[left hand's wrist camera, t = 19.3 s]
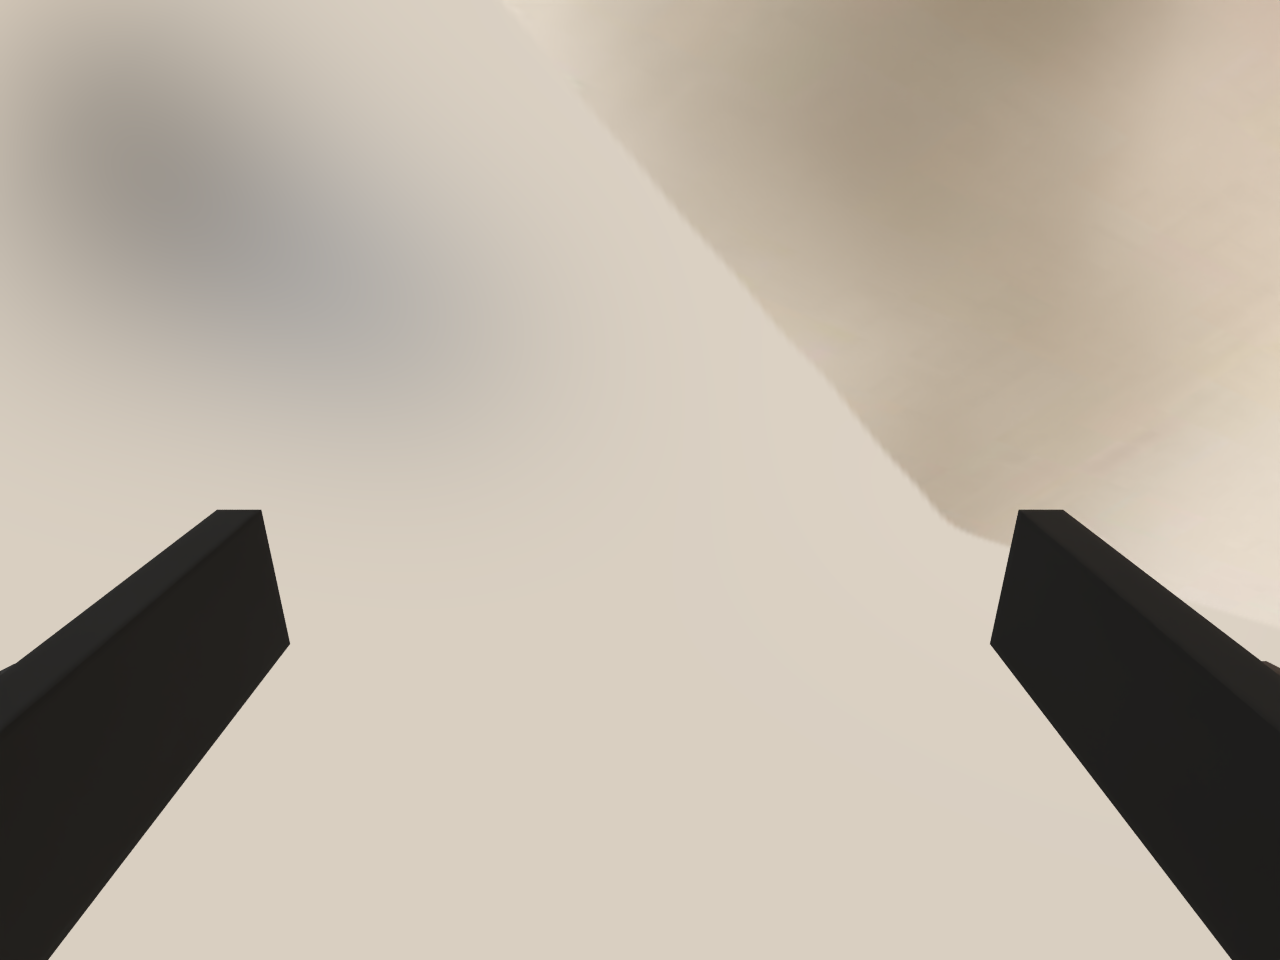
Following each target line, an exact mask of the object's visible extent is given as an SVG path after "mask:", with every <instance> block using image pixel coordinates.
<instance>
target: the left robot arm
mask: <svg viewBox="0 0 1280 960" xmlns="http://www.w3.org/2000/svg"><path fill="white" fill-rule="evenodd" d="M289 645H290V642H289V637H288V632H287V628H286V623H285V618H284V614H283V609H282V604H281V600H280V595H279V590H278V586H277V581H276V576H275V572H274V567H273V562H272V558H271V553H270V548H269V544H268V539H267V534H266V530H265V525H264V520H263V516H262V511H261V510H216V511H215V512H214V513H212V514H211V515H210V516H208V517H207V518H206V519H204V520H203V521H202V522H201V523H199V524H198V525H197V526H195V527H194V528H193V529H191V530H190V531H189V532H187V533H186V534H185V535H183V536H182V537H181V538H179V539H178V540H177V541H176V542H174V543H173V544H172V545H170V546H169V547H168V548H166V549H165V550H164V551H162V552H161V553H160V554H159V555H157V556H156V557H155V558H153V559H152V560H151V561H149V562H148V563H147V564H145V565H144V566H143V567H142V568H140V569H139V570H138V571H136V572H135V573H134V574H132V575H131V576H130V577H128V578H127V579H126V580H125V581H123V582H122V583H121V584H119V585H118V586H117V587H115V588H114V589H113V590H111V591H110V592H109V593H108V594H106V595H105V596H104V597H102V598H101V599H100V600H98V601H97V602H96V603H94V604H93V605H92V606H90V607H89V608H88V609H86V610H85V611H84V612H83V613H81V614H80V615H79V616H77V617H76V618H75V619H73V620H72V621H71V622H69V623H68V624H67V625H66V626H64V627H63V628H62V629H60V630H59V631H58V632H56V633H55V634H54V635H52V636H51V637H50V638H49V639H47V640H46V641H45V642H43V643H42V644H41V645H39V646H38V647H37V648H35V649H34V650H33V651H32V652H30V653H29V654H28V655H26V656H25V657H24V658H22V659H21V660H20V661H18V662H17V663H16V664H13V665H11V666H9V667H7V668H5V669H3V670H1V671H0V960H48V959H49V958H50V957H51V955H52V954H53V953H54V951H55V950H56V949H57V947H58V946H59V945H60V943H61V942H62V941H63V940H64V938H65V937H66V936H67V934H68V933H69V932H70V930H71V929H72V928H73V927H74V925H75V924H76V923H77V921H78V920H79V919H80V917H81V916H82V915H83V914H84V912H85V911H86V910H87V908H88V907H89V906H90V904H91V903H92V902H93V900H94V899H95V898H96V897H97V895H98V894H99V893H100V891H101V890H102V889H103V887H104V886H105V885H106V883H107V882H108V881H109V879H110V878H111V877H112V876H113V874H114V873H115V872H116V870H117V869H118V868H119V867H120V865H121V864H122V863H123V861H124V860H125V859H126V857H127V856H128V855H129V853H130V852H131V851H132V849H133V848H134V847H135V846H136V844H137V843H138V842H139V840H140V839H141V838H142V836H143V835H144V834H145V833H146V831H147V830H148V829H149V827H150V826H151V825H152V823H153V822H154V821H155V820H156V818H157V817H158V816H159V814H160V813H161V812H162V810H163V809H164V808H165V806H166V805H167V804H168V802H169V801H170V800H171V799H172V797H173V796H174V795H175V793H176V792H177V791H178V789H179V788H180V787H181V786H182V784H183V783H184V782H185V780H186V779H187V778H188V776H189V775H190V774H191V773H192V771H193V770H194V769H195V767H196V766H197V765H198V763H199V762H200V761H201V759H202V758H203V757H204V756H205V754H206V753H207V752H208V750H209V749H210V748H211V746H212V745H213V744H214V742H215V741H216V740H217V739H218V737H219V736H220V735H221V733H222V732H223V731H224V729H225V728H226V727H227V725H228V724H229V723H230V722H231V720H232V719H233V718H234V716H235V715H236V714H237V712H238V711H239V710H240V709H241V707H242V706H243V705H244V703H245V702H246V701H247V699H248V698H249V697H250V695H251V694H252V693H253V692H254V690H255V689H256V688H257V686H258V685H259V684H260V682H261V681H262V680H263V678H264V677H265V676H266V675H267V673H268V672H269V671H270V669H271V668H272V667H273V665H274V664H275V663H276V662H277V660H278V659H279V658H280V656H281V655H282V654H283V652H284V651H285V650H286V648H287V647H288V646H289ZM990 645H991V646H992V647H993V648H994V650H995V651H996V652H997V654H998V655H999V656H1000V658H1001V659H1002V660H1003V662H1004V663H1005V664H1006V665H1007V667H1008V668H1009V669H1010V671H1011V672H1012V673H1013V675H1014V676H1015V677H1016V678H1017V680H1018V681H1019V682H1020V684H1021V685H1022V686H1023V688H1024V689H1025V690H1026V692H1027V693H1028V694H1029V695H1030V697H1031V698H1032V699H1033V701H1034V702H1035V703H1036V705H1037V706H1038V707H1039V708H1040V710H1041V711H1042V712H1043V714H1044V715H1045V716H1046V718H1047V719H1048V720H1049V722H1050V723H1051V724H1052V725H1053V727H1054V728H1055V729H1056V731H1057V732H1058V733H1059V735H1060V736H1061V737H1062V739H1063V740H1064V741H1065V742H1066V744H1067V745H1068V746H1069V748H1070V749H1071V750H1072V752H1073V753H1074V754H1075V755H1076V757H1077V758H1078V759H1079V761H1080V762H1081V763H1082V765H1083V766H1084V767H1085V769H1086V770H1087V771H1088V772H1089V774H1090V775H1091V776H1092V778H1093V779H1094V780H1095V782H1096V783H1097V784H1098V785H1099V787H1100V788H1101V789H1102V791H1103V792H1104V793H1105V795H1106V796H1107V797H1108V798H1109V800H1110V801H1111V803H1112V804H1113V805H1114V806H1115V808H1116V809H1117V810H1118V812H1119V813H1120V814H1121V816H1122V817H1123V818H1124V819H1125V821H1126V822H1127V823H1128V825H1129V826H1130V827H1131V829H1132V830H1133V831H1134V833H1135V834H1136V835H1137V836H1138V838H1139V839H1140V840H1141V842H1142V843H1143V844H1144V846H1145V847H1146V848H1147V850H1148V851H1149V852H1150V853H1151V855H1152V856H1153V857H1154V859H1155V860H1156V861H1157V863H1158V864H1159V865H1160V867H1161V868H1162V869H1163V870H1164V872H1165V873H1166V874H1167V876H1168V877H1169V878H1170V880H1171V881H1172V882H1173V883H1174V885H1175V886H1176V887H1177V889H1178V890H1179V891H1180V893H1181V894H1182V895H1183V896H1184V898H1185V899H1186V900H1187V902H1188V903H1189V904H1190V906H1191V907H1192V908H1193V910H1194V911H1195V912H1196V913H1197V915H1198V916H1199V917H1200V919H1201V920H1202V921H1203V923H1204V924H1205V925H1206V927H1207V928H1208V929H1209V930H1210V932H1211V933H1212V934H1213V936H1214V937H1215V938H1216V940H1217V941H1218V942H1219V944H1220V945H1221V946H1222V947H1223V949H1224V950H1225V951H1226V953H1227V954H1228V955H1229V956H1230V958H1231V959H1232V960H1280V668H1279V667H1277V666H1275V665H1273V664H1271V663H1269V662H1267V661H1260V660H1259V659H1258V658H1256V657H1255V656H1254V655H1252V654H1251V653H1250V652H1249V651H1247V650H1246V649H1245V648H1243V647H1242V646H1241V645H1239V644H1238V643H1237V642H1235V641H1234V640H1233V639H1231V638H1230V637H1229V636H1228V635H1226V634H1225V633H1224V632H1222V631H1221V630H1220V629H1218V628H1217V627H1216V626H1214V625H1213V624H1212V623H1211V622H1209V621H1208V620H1207V619H1205V618H1204V617H1203V616H1201V615H1200V614H1199V613H1197V612H1196V611H1195V610H1193V609H1192V608H1191V607H1190V606H1188V605H1187V604H1186V603H1184V602H1183V601H1182V600H1180V599H1179V598H1178V597H1176V596H1175V595H1174V594H1173V593H1171V592H1170V591H1169V590H1167V589H1166V588H1165V587H1163V586H1162V585H1161V584H1159V583H1158V582H1157V581H1156V580H1154V579H1153V578H1152V577H1150V576H1149V575H1148V574H1146V573H1145V572H1144V571H1142V570H1141V569H1140V568H1138V567H1137V566H1136V565H1135V564H1133V563H1132V562H1131V561H1129V560H1128V559H1127V558H1125V557H1124V556H1123V555H1121V554H1120V553H1119V552H1118V551H1116V550H1115V549H1114V548H1112V547H1111V546H1110V545H1108V544H1107V543H1106V542H1104V541H1103V540H1102V539H1101V538H1099V537H1098V536H1097V535H1095V534H1094V533H1093V532H1091V531H1090V530H1089V529H1087V528H1086V527H1085V526H1083V525H1082V524H1081V523H1080V522H1078V521H1077V520H1076V519H1074V518H1073V517H1072V516H1070V515H1069V514H1068V513H1066V512H1065V511H1064V510H1019V511H1018V516H1017V520H1016V525H1015V530H1014V534H1013V539H1012V544H1011V548H1010V553H1009V558H1008V562H1007V567H1006V572H1005V576H1004V581H1003V586H1002V590H1001V595H1000V600H999V604H998V609H997V614H996V618H995V623H994V628H993V632H992V637H991V642H990Z"/></svg>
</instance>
